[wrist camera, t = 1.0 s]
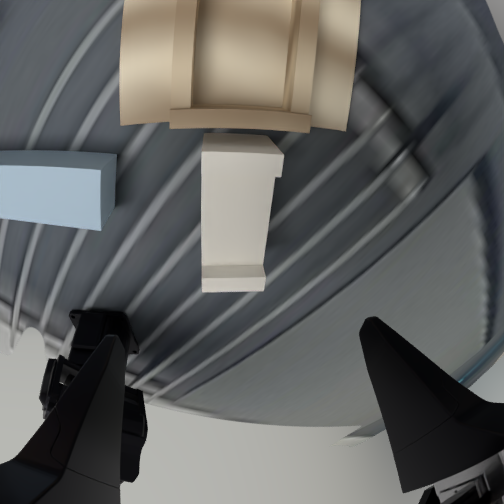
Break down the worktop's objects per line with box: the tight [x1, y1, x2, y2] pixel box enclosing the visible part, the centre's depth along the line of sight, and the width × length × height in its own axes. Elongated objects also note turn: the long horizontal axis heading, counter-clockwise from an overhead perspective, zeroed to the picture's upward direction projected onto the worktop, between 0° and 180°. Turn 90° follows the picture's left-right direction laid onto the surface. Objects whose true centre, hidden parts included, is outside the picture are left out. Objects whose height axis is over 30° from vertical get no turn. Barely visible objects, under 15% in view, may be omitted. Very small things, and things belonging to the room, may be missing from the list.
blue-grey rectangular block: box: [0, 150, 117, 231], centre depth 14 cm, size 4×12×4 cm, turn 76°
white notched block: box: [201, 133, 284, 292], centre depth 17 cm, size 9×4×5 cm, turn 175°
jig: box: [120, 0, 361, 133], centre depth 11 cm, size 12×14×4 cm
